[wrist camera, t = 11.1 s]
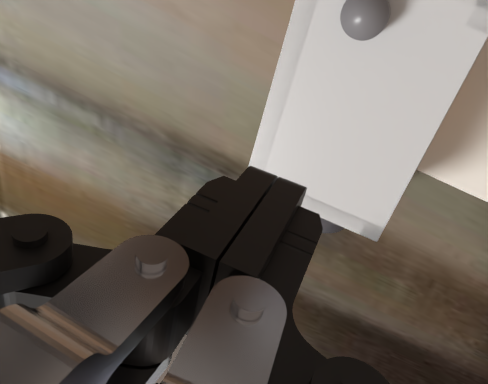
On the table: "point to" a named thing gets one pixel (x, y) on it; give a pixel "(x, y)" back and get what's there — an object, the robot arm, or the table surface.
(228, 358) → the robot arm
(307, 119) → the camera housing
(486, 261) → the table surface
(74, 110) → the table surface
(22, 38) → the table surface
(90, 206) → the table surface
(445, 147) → the side door
